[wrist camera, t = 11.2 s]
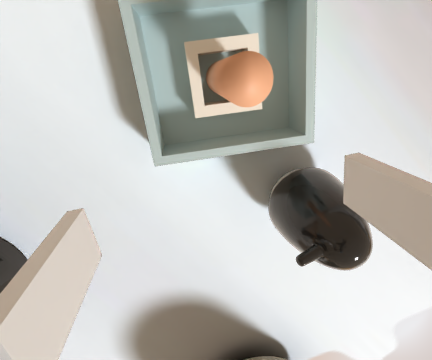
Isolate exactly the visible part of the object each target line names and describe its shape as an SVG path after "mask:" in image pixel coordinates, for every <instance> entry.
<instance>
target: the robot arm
mask: <svg viewBox="0 0 432 360" xmlns="http://www.w3.org/2000/svg"><path fill="white" fill-rule="evenodd" d="M343 203H344V204H345V205H346V206H348V207H349V208H350V209H352V210H353V211H354V212H356V213H357V214H358V215H359V216H361V217H362V218H363V219H365V220H366V221H367V222H369V223H370V224H371V225H373V226H374V227H375V228H377V229H378V230H379V231H381V232H382V233H383V234H385V235H386V236H387V237H388V238H390V239H391V240H392V241H394V242H395V243H396V244H398V245H399V246H400V247H402V248H403V249H404V250H406V251H407V252H408V253H410V254H411V255H412V256H414V257H415V258H416V259H417V260H419V261H420V262H421V263H423V264H424V265H425V266H427V267H428V268H429V269H431V270H432V183H430V182H428V181H425V180H423V179H421V178H418V177H416V176H413V175H411V174H409V173H406V172H404V171H401V170H399V169H397V168H394V167H392V166H389V165H387V164H385V163H382V162H380V161H377V160H375V159H373V158H370V157H368V156H365V155H363V154H361V153H355V154H350V155H345V162H344V195H343ZM101 256H102V253H101V251H100V248H99V246H98V243H97V241H96V238H95V236H94V233H93V231H92V228H91V226H90V223H89V221H88V218H87V216H86V213H85V211H84V208H82V209H77V210H72V211H67V212H66V213H65V215H64V216H63V217H62V218H61V220H60V221H59V222H58V223H57V225H56V226H55V227H54V228H53V229H52V231H51V232H50V233H49V234H48V236H47V237H46V238H45V239H44V241H43V242H42V243H41V244H40V245H39V247H38V248H37V249H36V250H35V252H34V253H33V254H32V255H31V256H30V258H29V259H28V260H27V259H26V258H25V257H24V255H23V254H22V253H21V252H20V251H19V250H17V249H16V248H15V247H14V246H12V245H11V244H9V243H8V242H6V241H4V240H2V239H0V360H58V359H59V357H60V354H61V352H62V350H63V347H64V345H65V342H66V340H67V338H68V335H69V333H70V330H71V328H72V326H73V323H74V321H75V318H76V316H77V314H78V311H79V309H80V307H81V304H82V302H83V299H84V297H85V295H86V292H87V290H88V287H89V285H90V283H91V280H92V278H93V275H94V273H95V271H96V268H97V266H98V264H99V261H100V259H101Z"/></svg>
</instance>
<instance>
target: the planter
mask: <svg viewBox="0 0 432 360" xmlns="http://www.w3.org/2000/svg"><path fill="white" fill-rule="evenodd" d="M244 360H287V359H284V358H280V357H274V356H259V357H253V358H248V359H244Z"/></svg>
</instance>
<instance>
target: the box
mask: <svg viewBox="0 0 432 360" xmlns="http://www.w3.org/2000/svg"><path fill="white" fill-rule="evenodd" d="M118 3H119V8H120V12H121V17H122V21H123V26H124V30H125V35H126V39H127V44H128V48H129V53H130V57H131V62H132V67H133V71H134V76H135V80H136V85H137V89H138V94H139V98H140V103H141V107H142V112H143V116H144V121H145V125H146V130H147V134H148V139H149V143H150V148H151V152H152V157H153V161H154V166H161V165H168V164H175V163H181V162H188V161H195V160H201V159H208V158H215V157H222V156H228V155H235V154H242V153H249V152H255V151H262V150H269V149H275V148H282V147H289V146H296V145H302V144H309V143H314V123H315V78H316V34H317V0H118ZM243 51H254V52H257V53H260V54H261V55H263V56H264V57H265V58H266V59H267V60H268V61H269V63H270V65H271V67H272V70H273V76H274V78H273V86H272V89H271V91H270V93H269V95H268V96H267V97H266V99H265V100H264V101H262V102H261V103H260V104H258V105H256V106H253V107H240V106H237V105H235V104H233V103H232V102H230V101H228V100H227V99H225V98H223V97H222V96H220V95H218V94H217V93H215V92H213V91H212V90H211V89H210V88H209V86H208V85H207V82H206V73H207V70H208V68H209V67H210V66H211V65H212V64H213V63H214V62H217V61H219V60H222V59H224V58H227V57H230V56H232V55H235V54H237V53H240V52H243Z"/></svg>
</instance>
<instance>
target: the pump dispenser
mask: <svg viewBox="0 0 432 360" xmlns="http://www.w3.org/2000/svg"><path fill="white" fill-rule="evenodd" d="M343 195H344V184H343V183H342V182H341V181H340V180H339V179H338V178H336V177H335V176H334V175H332V174H331V173H329V172H328V171H326V170H323V169H319V168H301V169H296V170H293V171H290V172H288V173H287V174H285V175H284V176H282V177H281V178H280V179H279V180H278V181H277V182H276V184H275V185H274V187H273V189H272V191H271V195H270V200H269V207H268V209H269V216H270V219H271V221H272V223H273V225H274V226H275V228H276V229H277V230H278V232H279V233H280V234H281V235H282V236H283V237H284V238H285V239H286V240H287V241H288V242H289V243H290V244H291V245H292V246H293V247H295V248H296V249H297V250H299V251H300V252H301V254H299V255H298V256H297V257H296V262H297V264H298V265H299V266H305V265H307V264H309V263H311V262H313V261H316V262H318V263H320V264H322V265H324V266H326V267H329V268H333V269H337V270H352V269H356V268H358V267H360V266H361V265H363V264H364V263H365V262H366V261H367V260H368V259H369V257H370V255H371V252H372V247H373V241H372V234H371V230H370V227H369V224H368V222H367V221H366V220H365V219H363V218H362V217H361V216H359V215H358V214H357V213H356V212H354V211H353V210H352V209H350V208H349V207H348V206H346V205H345V204H344V203H343Z"/></svg>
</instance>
